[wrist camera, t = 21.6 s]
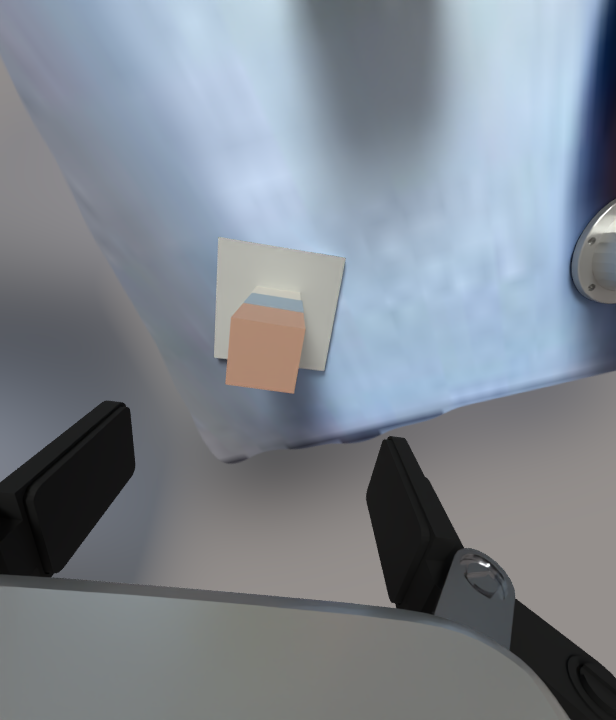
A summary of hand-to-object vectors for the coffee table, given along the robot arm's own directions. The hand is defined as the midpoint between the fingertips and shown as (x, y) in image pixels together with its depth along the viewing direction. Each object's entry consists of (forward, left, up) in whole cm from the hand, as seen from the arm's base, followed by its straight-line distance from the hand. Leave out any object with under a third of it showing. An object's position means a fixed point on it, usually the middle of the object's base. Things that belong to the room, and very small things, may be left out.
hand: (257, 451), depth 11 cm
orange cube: (+1, 0, -15) cm, 15 cm away
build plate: (+1, 0, -26) cm, 26 cm away
